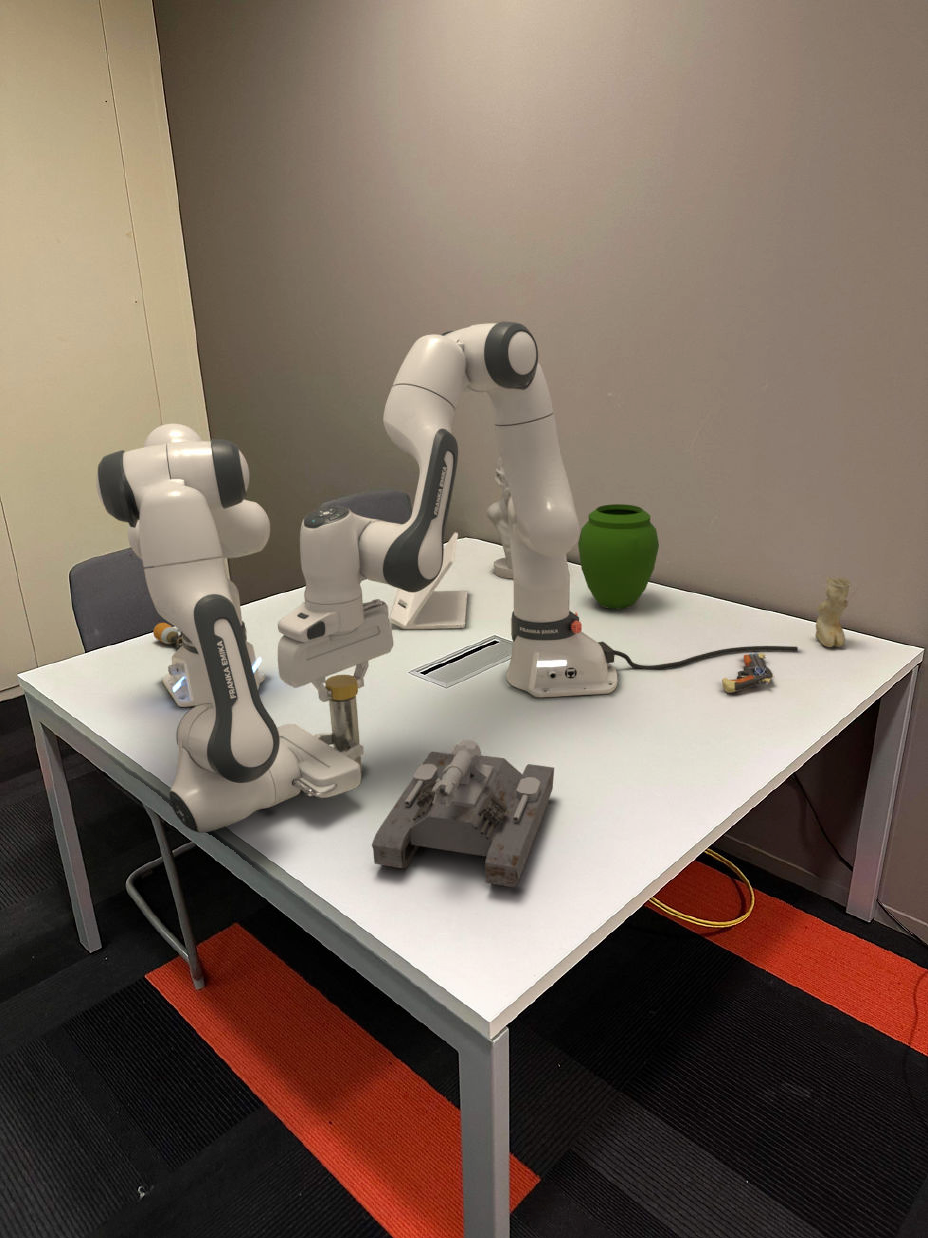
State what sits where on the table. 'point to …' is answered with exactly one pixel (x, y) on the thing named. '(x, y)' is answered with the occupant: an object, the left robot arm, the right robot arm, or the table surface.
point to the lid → (342, 686)
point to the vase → (618, 554)
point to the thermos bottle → (344, 725)
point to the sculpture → (832, 613)
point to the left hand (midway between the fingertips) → (350, 741)
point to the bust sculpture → (502, 523)
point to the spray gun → (167, 634)
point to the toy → (468, 812)
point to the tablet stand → (432, 602)
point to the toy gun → (749, 674)
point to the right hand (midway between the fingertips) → (341, 693)
